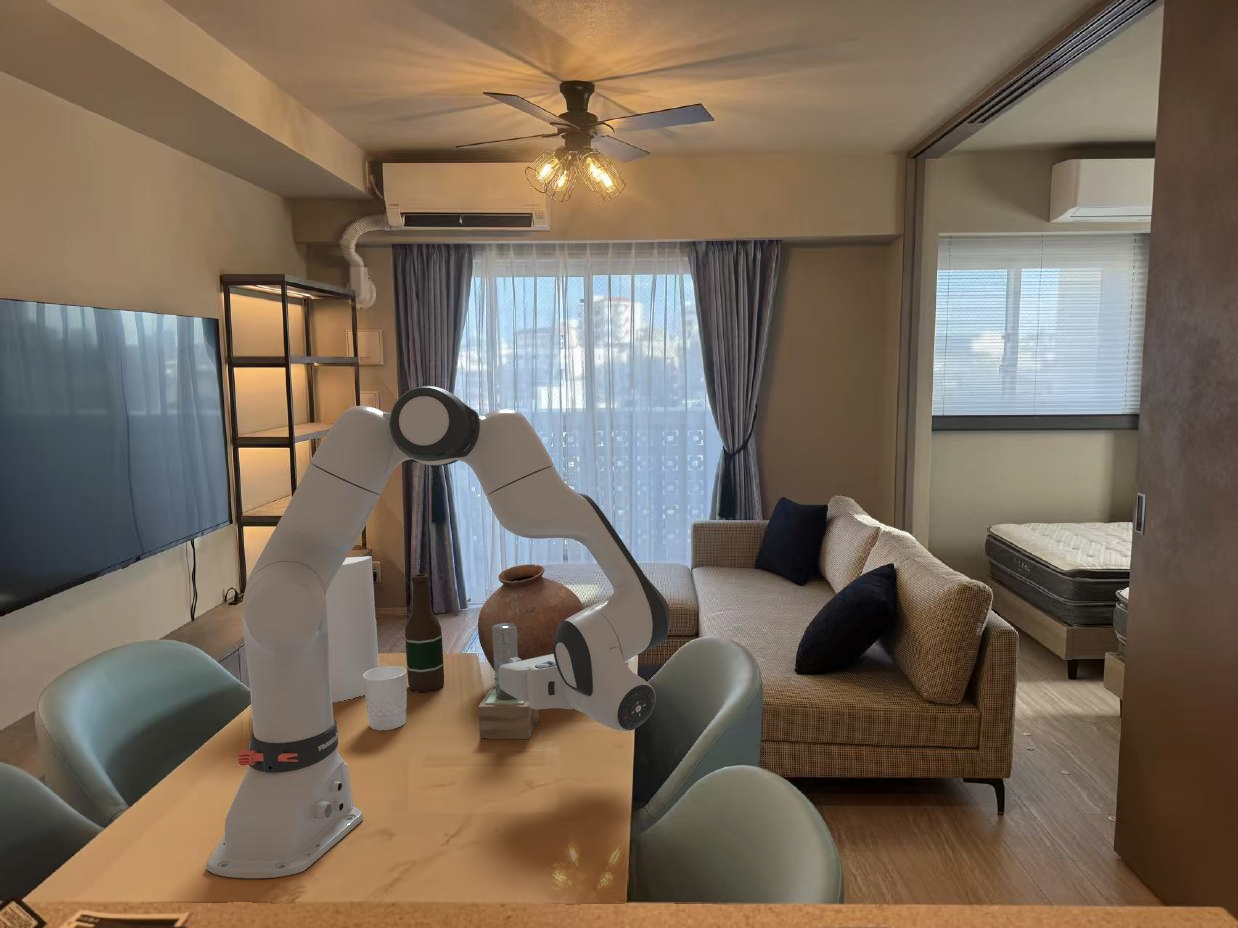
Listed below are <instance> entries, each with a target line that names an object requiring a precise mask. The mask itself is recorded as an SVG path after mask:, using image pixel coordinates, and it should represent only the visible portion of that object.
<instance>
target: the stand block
mask: <svg viewBox="0 0 1238 928" xmlns="http://www.w3.org/2000/svg"><path fill="white" fill-rule="evenodd" d="M477 708H478V722H479V725H478V726H479V739H480V738H486V740H530V739H531V737H532V735H533V733H534V731H535V728H536V726H537V724H538V723H539V721H540V717H539V714H540V712H539V710H540V709H532V708H530V707H529V703H528V701H522V700H519V699H516V698H515V699H511V700H500V699H497V698H496V688H489V690H488V692H487V693H486V695H485V696H484V698H483V700H482V701H481V702H480V703H479V705H478V707H477ZM487 738H488V739H487Z"/></svg>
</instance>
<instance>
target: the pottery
mask: <svg viewBox="0 0 1238 928" xmlns="http://www.w3.org/2000/svg"><path fill="white" fill-rule="evenodd" d="M544 572H545V567H544V566H542V565H540V564H533V563H532V564H521V565H520V564H518V565H515V566H512V567H511V566H510V567H509V568H507V569H504V570H502V571H501V572H500V573H499V574H498V581H499V582H500V583H501V584H502V585H501V586H499V587H498V588H497V589H496V590H495V591H493V593H492V594H491V595H490V596H489V598H488V599H486V601H485V602H484V603H483V605H482V606H481V609H480V611H479V615H478V620H477V632H478V633H477V634H478V640H479V644H480V647H481V650H482V651H483V653H484V654H483V655H484V656H485V658H486V660H487V661H488V663H489V665H490V667H491V669H492V670H493V672H495V670H494V653H493V637H492V626H494V625H497V624H502V623H513V624H516V629H517V647H518V658H520V659H521V661H522V660H527V659H531V658H536V657H540V656H545V655H550V654H554V653H553V646H554V639H555V634H556V631H557V628H558V626H559V624H560V623H561V622H562V621H564V620H566V619H567V618H569V617H571V616H573V615H574V614H576V613H578V612H580V611H582V610H584V609H585V608H584V606H583V603H582V601H581V600H580V598H579V597H578V595H577V594H576V593H574V592H573V590H572V589H570V588H569V587H567V586H565V585H564V584H562V583H560V582H557V581H555V580H552V579H550V578H546V577H543V575H544Z"/></svg>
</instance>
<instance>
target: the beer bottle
mask: <svg viewBox="0 0 1238 928" xmlns="http://www.w3.org/2000/svg"><path fill="white" fill-rule="evenodd" d="M410 581H411V583H412V607H411V614H410V616H409V617H408V618H407V621H406V625H405V627H404V630H405V631H404V636H405V637H404V640H405V642H404V643H405V655H406V657H405V658H406V659H405V660H406V677H407V684H408V687H409V689H410V691H411V692H415V691H418V692H417V693H427V692H426V691H429V692H435V691H438V690H439V689H440V687H441V688H442V687H444V686H445V668H444V667H445V666H444V650H443V649H444V648H443V634H442V632H443V631H442V626H441V624H440V622H439V619H438V618H437V616H436V615H435V614H434V613H433V609H432V604H431V603H432V602H431V596H430V594H431V593H430V586H429V581H430V577H429V575H428V573H427V574H426V573H417V574H414V575H412V577H411V580H410ZM438 688H439V689H438ZM434 690H435V691H434Z"/></svg>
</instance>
